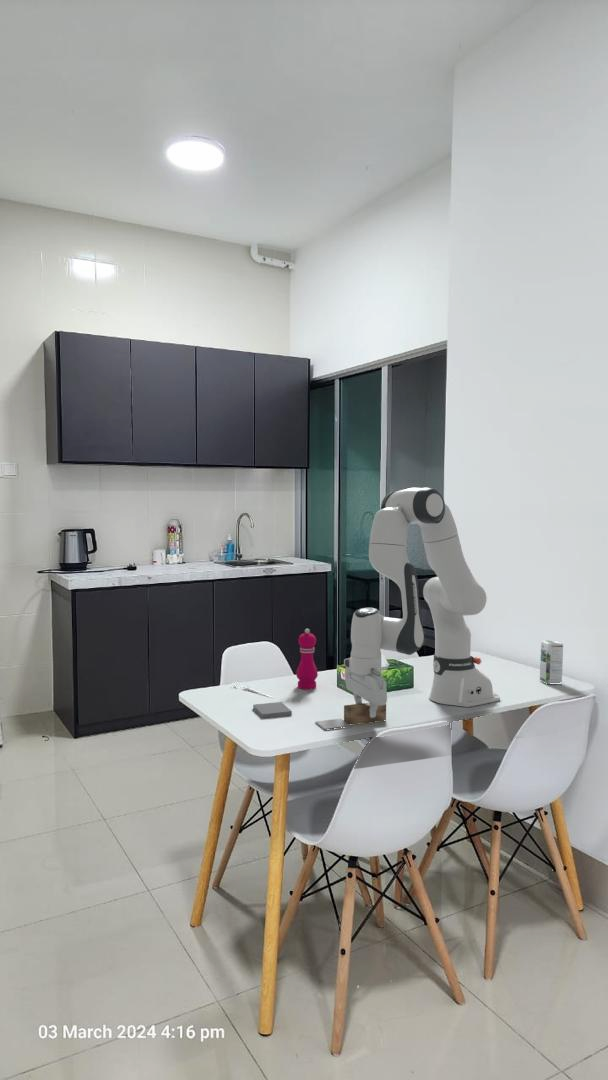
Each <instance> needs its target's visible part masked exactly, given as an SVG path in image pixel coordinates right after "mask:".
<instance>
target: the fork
mask: <svg viewBox="0 0 608 1080" xmlns="http://www.w3.org/2000/svg"><path fill="white" fill-rule="evenodd" d="M231 683H232V684H233V687H234V688H235V689H237V688H238V690H240V689H239V688H240V687H241V688H243V687H246V686H244V685H242V684H241V682H239V681H238V680H237V681H236V680H235V681H231ZM245 690H246V691H248V690H249V692H251V691H253V692H252V693H254V692H257V693H260V694H259V695H261V694H263V695H262V696H264V695H266V696H265V697H267V696H269V698H271V697H273V696H272V695H268V694H266V693H263V692H261V691H258V690H256V689H254V688H251V687H248V686H247V687H246V688H243V689H242V690H241V691H245ZM257 693H256V694H257Z"/></svg>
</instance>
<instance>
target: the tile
mask: <svg viewBox="0 0 608 1080" xmlns="http://www.w3.org/2000/svg"><path fill="white" fill-rule="evenodd" d="M252 706H253V707H252V708H253V709H252V710H253V711H255V713H257V714H258V715H259V717H260V718H261V719H271V718H270V717H272V718H279V717H281V716H282V717H290V716H291V715H292V716H293V713H292V710H291V709H290V708H289V707H288V706H286V705H285V703H284V702H282V701H278V702H277V701H276V702H266V703H257V704H253V705H252Z"/></svg>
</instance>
